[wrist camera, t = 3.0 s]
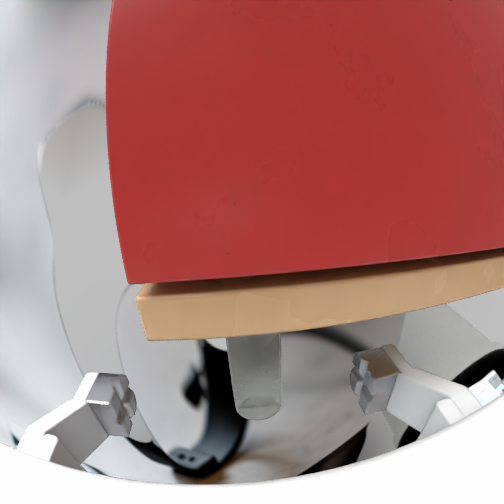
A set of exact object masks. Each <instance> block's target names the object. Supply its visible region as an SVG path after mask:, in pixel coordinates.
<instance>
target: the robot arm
mask: <svg viewBox="0 0 504 504" xmlns="http://www.w3.org/2000/svg"><path fill="white" fill-rule="evenodd" d="M352 362H353V364H354V366H355V367H354V368H353V369H352V370H351V373H350V385H351V388H352V391H353V393H354V394H355V395H357V396H359V397H360V399H359V404H360V406H361V408H362V410H363V412H364V414H365V415H367V414H371V413H375V412H378V411H382V410H385V409H386V411H388V412H389V413H391V414H392V415H394V416H395V417H397V418H399V419H400V420H402V421H403V422H405V423H406V424H408V425H410V426H411V427H413V428H415V429H416V430H418V431H419V432H421V434H420V435H419V437H418V439H417V441H415V442H413V443H410V444H408V445H406V446H403V447H401V448H398V449H395V450H393V451H390V452H387V453H384V454H382V455H379V456H376V457H373V458H370V459H367V460H363V461H360V462H357V463H353V464H350V465H346V466H342V467H338V468H334V469H330V470H326V471H322V472H317V473H312V474H307V475H302V476H297V477H291V478H284V479H277V480H270V481H261V482H251V483H238V484H217V485H188V484H167V483H154V482H144V481H136V480H129V479H122V478H116V477H110V476H105V475H100V474H95V473H90V472H87V471H86V470H85V469H84V468H83V467H82V466H81V465H80V464H81V463H82V462H83V461H84V460H85V459H86V458H87V457H88V456H89V455H90V454H91V453H92V452H93V451H94V450H95V449H96V448H97V447H98V446H99V445H100V444H101V443H102V442H103V441H104V440H105V439H106V438H107V437H108V435H113V436H124V437H129V434H130V431H131V427H132V422H131V420H130V418H131V417H133V416H134V415H135V412H136V398H135V395H134V392H133V391H132V390H131V389H130V388H128V385H129V381H128V379H127V377H126V375H123V374H108V373H94V372H89V373H87V374H86V376H85V377H84V379H83V381H82V383H81V385H80V387H79V389H78V391H77V393H76V395H75V397H74V398H73V400H69V401H67V402H65V403H64V404H62V405H61V406H59V407H58V408H56V409H55V410H53V411H52V412H50V413H49V414H47V415H45V416H44V417H42V418H41V419H39V420H38V421H36V422H35V423H33V424H31V425H30V426H28V427H27V429H26V431H25V433H24V435H23V436H22V438H21V440H20V442H19V444H18V446H17V448H16V449H14V448H12V447H9V446H7V445H5V444H3V443H0V504H504V384H503V383H502V381H501V379H500V378H499V376H498V375H497V373H496V372H495V370H492V371H491V372H490V373H488V374H487V375H486V376H485V377H484V378H483V379H482V380H480V381H479V382H477V383H475V384H474V385H472V386H471V387H469V388H467V387H466V386H463V385H460V384H458V383H455V382H452V381H449V380H447V379H444V378H441V377H439V376H436V375H434V374H431V373H428V372H426V371H423V370H421V369H418V368H415V369H413V368H412V367H411V365H410V364H409V363H408V362H407V360H406V359H405V358H404V357H403V356H402V354H401V353H400V352H399V351H398V349H397V348H396V347H395V346H394V345H392V344H389V345H386V346H382V347H379V348H375V349H371V350H367V351H362V352H358V353H355V354H354V356H353V361H352Z"/></svg>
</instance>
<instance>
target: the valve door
mask: <svg viewBox="0 0 504 504" xmlns="http://www.w3.org/2000/svg"><path fill="white" fill-rule="evenodd" d="M503 287H504V248H497V249H490V250H483V251H476V252H469V253H461V254H454V255H446V256H438V257H430V258H422V259H414V260H405V261H397V262H388V263H379V264H370V265H361V266H352V267H342V268H332V269H322V270H312V271H301V272H290V273H279V274H268V275H256V276H244V277H232V278H219V279H206V280H192V281H177V282H162V283H146V284H144V285H143V287H142V289H141V290H140V292H139V293H138V295H137V297H136V302H137V306H138V310H139V314H140V318H141V322H142V325H143V329H144V333H145V336H146V339H147V340H149V341H164V340H193V339H212V338H226V343H227V350H228V358H229V365H230V372H231V379H232V386H233V393H234V399H235V406H236V410H237V412H238V413H239V414H240V415H241V416H242V417H244V418H246V419H250V420H263V419H267V418H269V417H271V416H273V415H275V414H276V413H277V412H278V410H279V409H280V406H281V333H282V332H291V331H299V330H307V329H314V328H321V327H328V326H335V325H342V324H348V323H354V322H360V321H366V320H371V319H377V318H382V317H387V316H392V315H397V314H402V313H407V312H412V311H416V310H421V309H425V308H429V307H434V306H438V305H442V304H446V303H450V302H454V301H458V300H461V299H465V298H469V297H473V296H476V295H480V294H483V293H487V292H490V291H493V290H496V289H500V288H503Z"/></svg>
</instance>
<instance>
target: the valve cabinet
mask: <svg viewBox="0 0 504 504" xmlns="http://www.w3.org/2000/svg"><path fill="white" fill-rule="evenodd" d="M106 126H107V144H108V158H109V169H110V180H111V188H112V196H113V204H114V211H115V218H116V225H117V231H118V237H119V242H120V248H121V253H122V258H123V263H124V268H125V272H126V277H127V281H128V283H129V284H146V283H162V282H177V281H192V280H206V279H219V278H232V277H244V276H256V275H268V274H279V273H290V272H301V271H312V270H322V269H332V268H342V267H352V266H361V265H370V264H379V263H388V262H397V261H405V260H414V259H422V258H430V257H438V256H446V255H454V254H461V253H469V252H476V251H483V250H490V249H497V248H504V0H112V7H111V15H110V23H109V34H108V46H107V64H106Z"/></svg>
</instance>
